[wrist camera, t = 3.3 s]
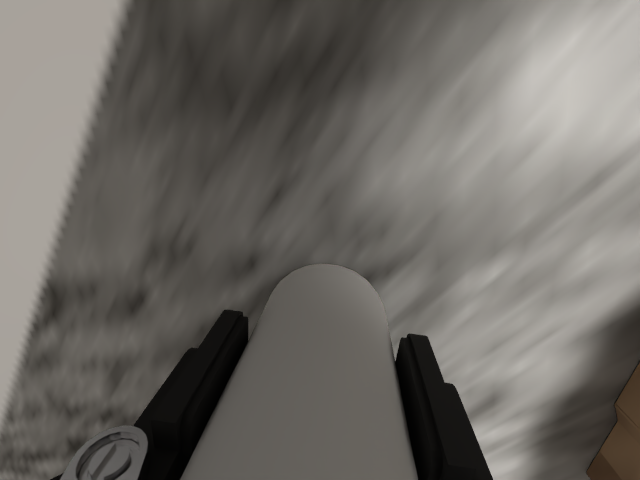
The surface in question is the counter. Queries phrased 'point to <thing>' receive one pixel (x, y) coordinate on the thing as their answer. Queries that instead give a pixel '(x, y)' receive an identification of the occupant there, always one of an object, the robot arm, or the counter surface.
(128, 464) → the robot arm
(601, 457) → the socket block
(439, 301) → the counter surface
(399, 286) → the counter surface
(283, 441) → the beverage can
